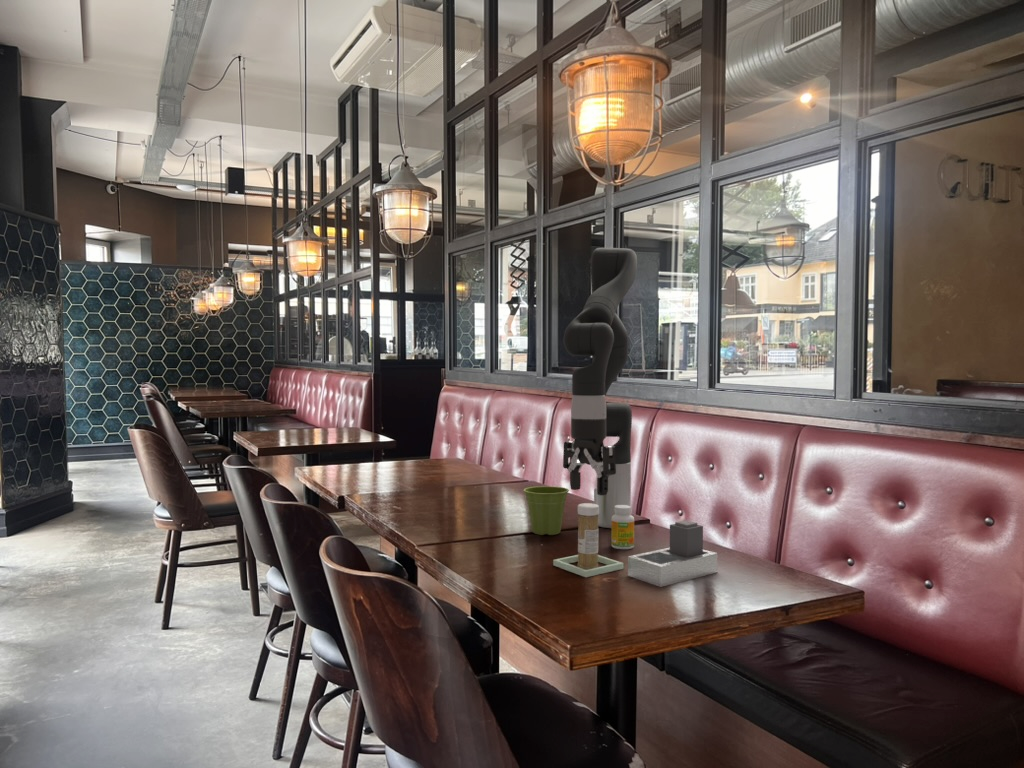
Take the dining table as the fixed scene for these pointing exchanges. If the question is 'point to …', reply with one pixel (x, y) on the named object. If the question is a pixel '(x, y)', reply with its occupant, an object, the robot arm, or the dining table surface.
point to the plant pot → (546, 508)
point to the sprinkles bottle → (588, 535)
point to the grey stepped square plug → (686, 539)
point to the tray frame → (610, 566)
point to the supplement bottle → (622, 528)
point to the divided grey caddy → (670, 566)
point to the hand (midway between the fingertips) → (588, 492)
